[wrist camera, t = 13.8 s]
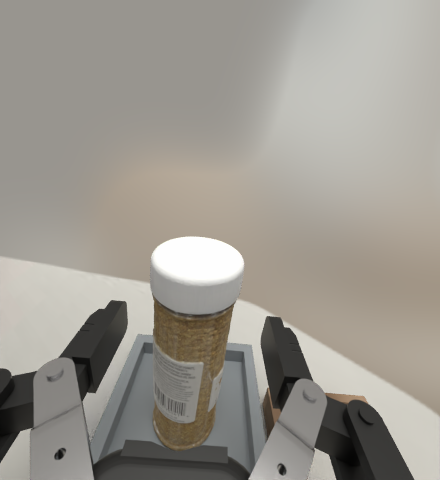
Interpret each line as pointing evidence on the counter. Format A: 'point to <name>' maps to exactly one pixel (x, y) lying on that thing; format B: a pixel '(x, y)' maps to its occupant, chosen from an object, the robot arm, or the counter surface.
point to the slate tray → (142, 405)
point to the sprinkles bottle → (191, 334)
